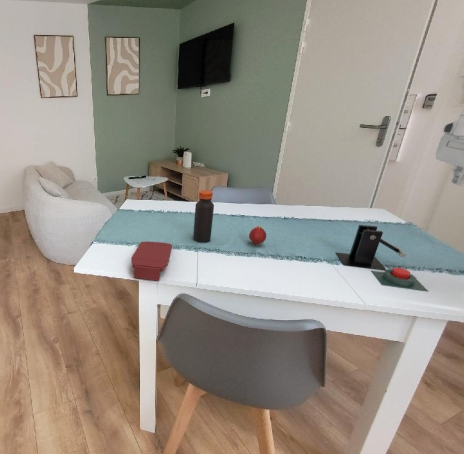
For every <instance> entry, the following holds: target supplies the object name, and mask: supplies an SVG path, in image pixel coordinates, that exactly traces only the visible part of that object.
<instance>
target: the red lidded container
mask: <svg viewBox="0 0 464 454" xmlns="http://www.w3.org/2000/svg"><path fill="white" fill-rule="evenodd" d="M172 249H173V244H171V243H168V242H160V241H151V240H150V241H149V240H148V241H141V242H140V243H139V244H138V246H137V248H136V249H135V251H134V252H133V254H132V256H131V258H130V262H131V266H132V269H133V278H135V279H142V280H149V281H158V282H159V281H160V279H161V272H163V271H164V270H165V269H166V267H168V265H169V261H170V257H171V253H172Z"/></svg>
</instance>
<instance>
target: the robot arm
mask: <svg viewBox="0 0 464 454" xmlns="http://www.w3.org/2000/svg"><path fill="white" fill-rule="evenodd" d="M441 132H442V133H443V134H442V136H441V137H440V139H439V142H438V146H437V148H436V151H435V159H436V160H437V161H440V162H444V163H447V164H449V165H453V166H452V169H451V172H452V173H451V174H452V177H451V179H450V183H451V184H454V185H457V186H460V187H464V109H463V110H462V111H461V112H460V115H459V118H458V119H456V120H454V121H451V122H449V123H446V124H444V125H443V127H442V129H441Z"/></svg>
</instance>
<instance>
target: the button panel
mask: <svg viewBox="0 0 464 454" xmlns="http://www.w3.org/2000/svg"><path fill="white" fill-rule="evenodd" d="M392 271H393V268H388V269H387V268H386V270H385V271H379V270H370V272H371V273H372V275H373V277H375V279H376V280H377V281H378V282H379V284H380V285H381V286H385V287H392V288H398V289H405V290H413V291H421V292H427V293H428V292H429V290H428V289H427V288H426V287H425V286H424V285H423V284H422V283H421V282H420V281H419V280H418V279H417V277H416V276H415V275H413V274H412V273H410V276H409V278H408V279H402V278H398V277H395V276H393V275H392V274H391V273H392Z"/></svg>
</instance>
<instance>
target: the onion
mask: <svg viewBox="0 0 464 454" xmlns="http://www.w3.org/2000/svg"><path fill="white" fill-rule="evenodd" d="M248 239H249V241H250V242H251V243H253V245H255V246H258V245H260V244H261V245H262V244H263V243H264V242H265V241H266V240H267V232H266V231H265V230H264V228H262V227H261V225H257V226H256V227H254V228H252V229H251V230H250V232H249V235H248Z"/></svg>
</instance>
